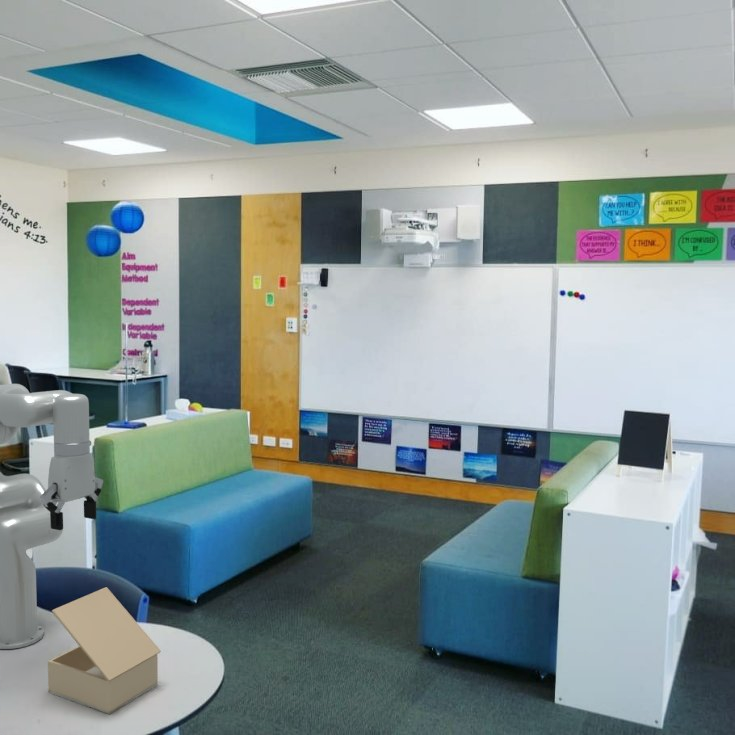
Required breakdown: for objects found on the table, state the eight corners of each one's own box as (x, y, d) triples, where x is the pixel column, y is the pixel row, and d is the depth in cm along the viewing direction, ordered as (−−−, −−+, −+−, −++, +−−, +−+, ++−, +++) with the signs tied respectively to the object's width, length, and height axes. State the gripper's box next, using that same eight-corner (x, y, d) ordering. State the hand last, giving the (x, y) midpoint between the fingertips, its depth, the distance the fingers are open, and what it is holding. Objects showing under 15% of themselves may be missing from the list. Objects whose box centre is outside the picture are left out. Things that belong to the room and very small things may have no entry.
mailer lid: (51, 611, 165) (52, 609, 165) (105, 588, 178) (106, 586, 178) (108, 681, 159) (109, 680, 159) (160, 652, 172) (161, 651, 172)
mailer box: (48, 692, 168) (47, 661, 168) (98, 665, 181) (98, 636, 180) (109, 714, 160) (109, 681, 159) (157, 684, 172) (157, 654, 172)
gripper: (88, 441, 185) (90, 512, 187) (28, 454, 169) (30, 531, 171) (112, 444, 182) (114, 516, 183) (53, 457, 166) (55, 536, 168)
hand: (73, 523), depth 177 cm, fingers open, 9 cm apart
